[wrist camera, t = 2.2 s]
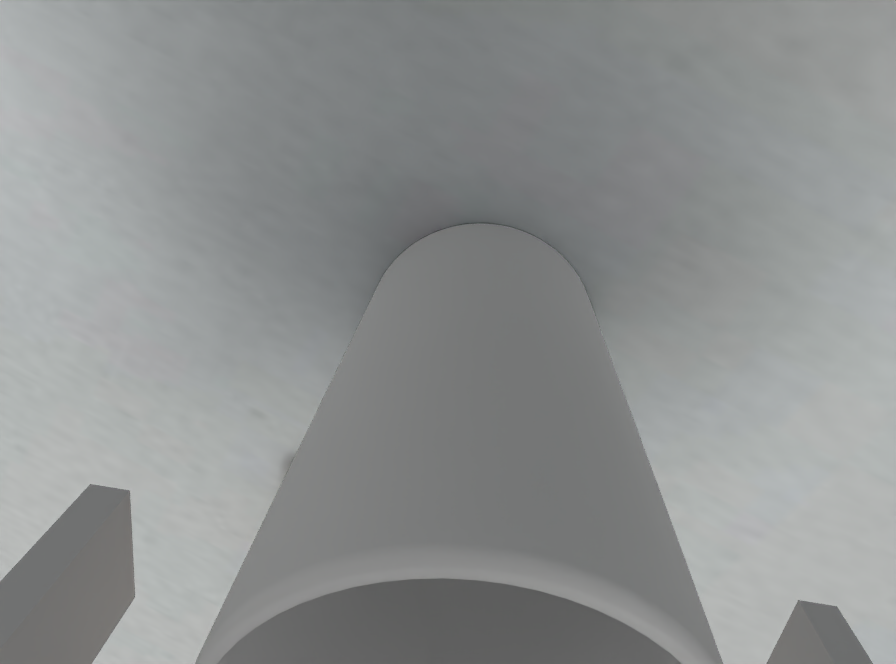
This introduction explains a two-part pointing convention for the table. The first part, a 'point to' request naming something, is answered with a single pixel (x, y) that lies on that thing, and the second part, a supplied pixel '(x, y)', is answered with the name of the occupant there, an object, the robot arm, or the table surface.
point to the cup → (469, 487)
